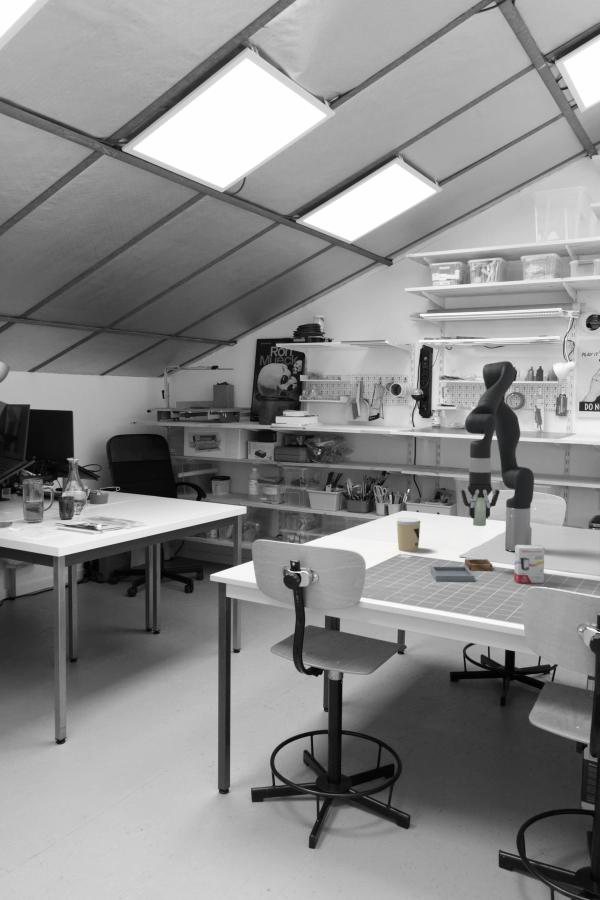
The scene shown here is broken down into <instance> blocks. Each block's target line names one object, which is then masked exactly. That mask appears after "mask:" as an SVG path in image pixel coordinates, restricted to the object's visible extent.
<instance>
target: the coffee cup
mask: <svg viewBox="0 0 600 900" xmlns="http://www.w3.org/2000/svg"><path fill="white" fill-rule="evenodd" d="M396 525H397V526H396V527H397V544H398V545H397V547H398V551H401V552H408V553H409V552H410V553H412V552H417V551H418V550H419V546H420V545H419V542H420V533H421V532H420V529H421V528H420V527H421V520H420V519H418V518H413V517H401V518H398V519H397V520H396Z"/></svg>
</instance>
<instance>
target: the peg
mask: <svg viewBox="0 0 600 900" xmlns="http://www.w3.org/2000/svg"><path fill="white" fill-rule="evenodd" d="M474 499H475V498H474ZM472 520H473V521H472V525H473V526H476V527H477V526H478V527H486V525H487V518H486V501H485V498H477V499H476V502H475V504H474V518H472Z"/></svg>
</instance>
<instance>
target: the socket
mask: <svg viewBox="0 0 600 900" xmlns="http://www.w3.org/2000/svg"><path fill="white" fill-rule="evenodd" d="M464 566H465V567H468V569H469V570H470V571H493V564H492V562H490V560H488V559H486V558H485V559H484V558H483V559H481V558H479V559H478V558H475V559H474V558H465V559H464Z"/></svg>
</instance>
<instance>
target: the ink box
mask: <svg viewBox="0 0 600 900" xmlns="http://www.w3.org/2000/svg"><path fill="white" fill-rule="evenodd" d="M513 571H514V572H513V573H514V574H513V576H514V577H513V579H514V581H516V582H517V583H520V584H521V583H522V584H523V583H525V584H527V583H528V584H529V583H530V584H535V583H536V584H537V583H539V584H540V583H541V584H542V583H544V581H545V580H544V578H545V577H544V576H545V547H544V546H542V545H540V544H539V545H538V544H531V545H516V546H515V552H514V570H513Z"/></svg>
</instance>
